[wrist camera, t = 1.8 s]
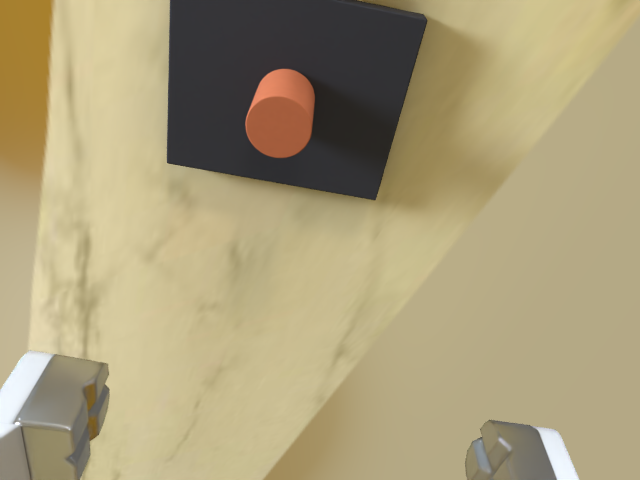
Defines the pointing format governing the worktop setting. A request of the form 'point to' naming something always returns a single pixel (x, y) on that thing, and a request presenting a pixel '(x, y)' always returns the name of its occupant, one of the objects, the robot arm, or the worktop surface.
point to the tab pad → (311, 44)
